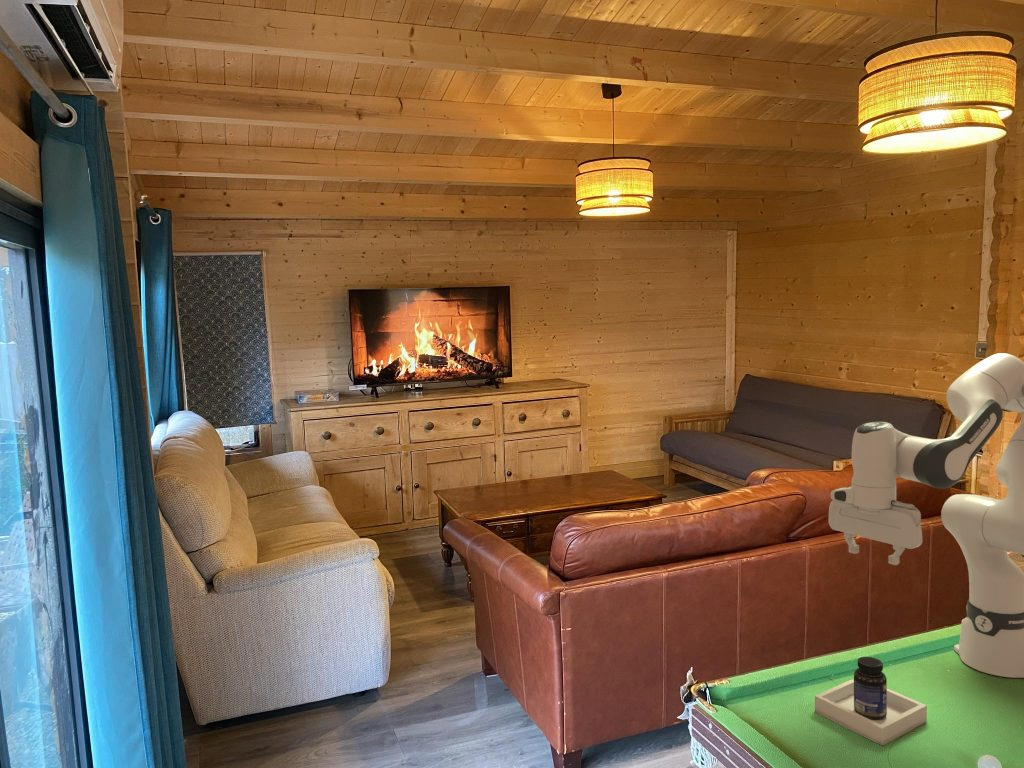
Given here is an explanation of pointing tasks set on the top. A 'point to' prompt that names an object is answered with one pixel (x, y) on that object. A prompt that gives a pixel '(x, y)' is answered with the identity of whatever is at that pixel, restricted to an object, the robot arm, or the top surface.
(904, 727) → the tray
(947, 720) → the top surface
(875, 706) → the pill bottle
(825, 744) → the top surface
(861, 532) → the robot arm
